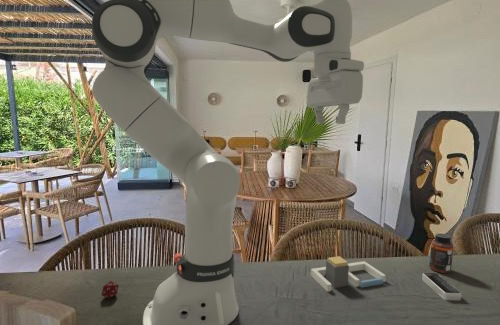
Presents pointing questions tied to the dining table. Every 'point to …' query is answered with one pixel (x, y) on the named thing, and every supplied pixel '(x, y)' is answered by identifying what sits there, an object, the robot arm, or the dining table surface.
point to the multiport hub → (441, 286)
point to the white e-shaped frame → (350, 275)
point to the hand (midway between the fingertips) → (329, 124)
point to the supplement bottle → (441, 254)
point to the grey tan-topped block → (337, 271)
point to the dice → (110, 290)
